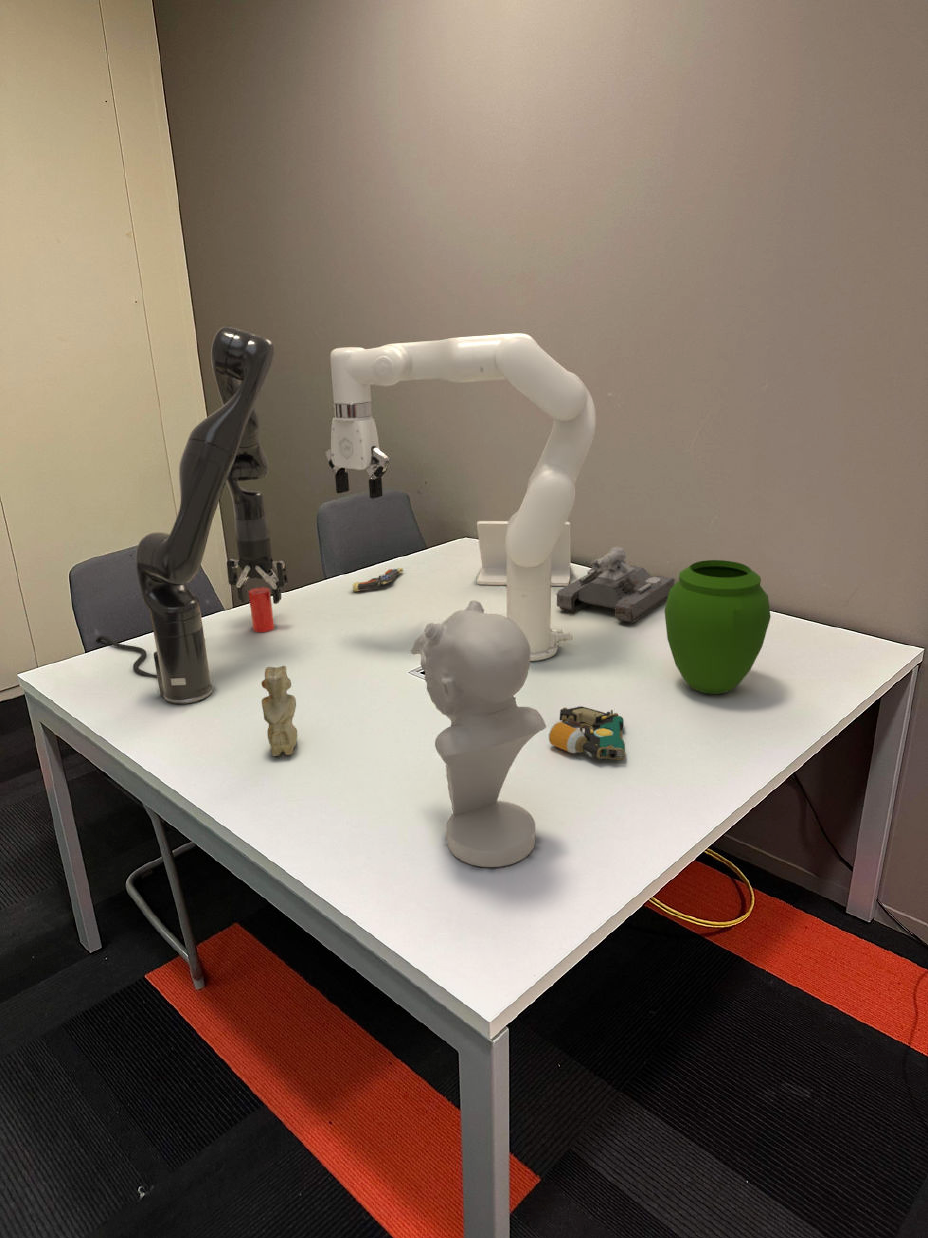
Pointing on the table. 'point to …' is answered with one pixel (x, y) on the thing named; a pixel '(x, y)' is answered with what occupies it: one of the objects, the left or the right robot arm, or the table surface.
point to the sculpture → (279, 711)
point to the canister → (261, 609)
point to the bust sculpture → (481, 729)
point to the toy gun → (378, 580)
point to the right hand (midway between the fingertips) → (359, 494)
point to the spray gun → (589, 733)
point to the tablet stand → (496, 555)
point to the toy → (616, 588)
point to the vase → (716, 623)
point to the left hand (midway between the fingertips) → (260, 602)
